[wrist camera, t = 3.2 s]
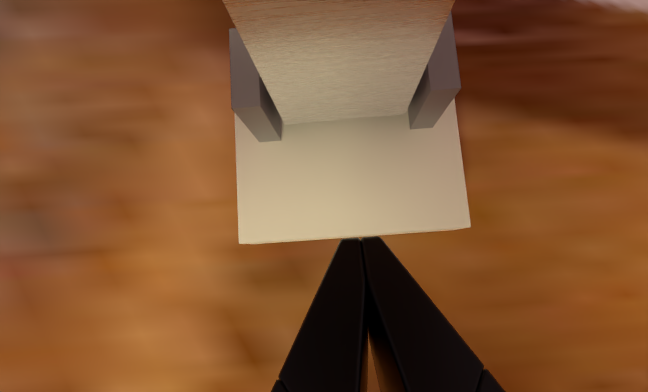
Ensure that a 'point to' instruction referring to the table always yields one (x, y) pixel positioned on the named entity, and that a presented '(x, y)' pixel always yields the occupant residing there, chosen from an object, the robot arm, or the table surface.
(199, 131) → the table surface
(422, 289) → the robot arm
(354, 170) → the block
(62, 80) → the table surface
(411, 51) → the lever
